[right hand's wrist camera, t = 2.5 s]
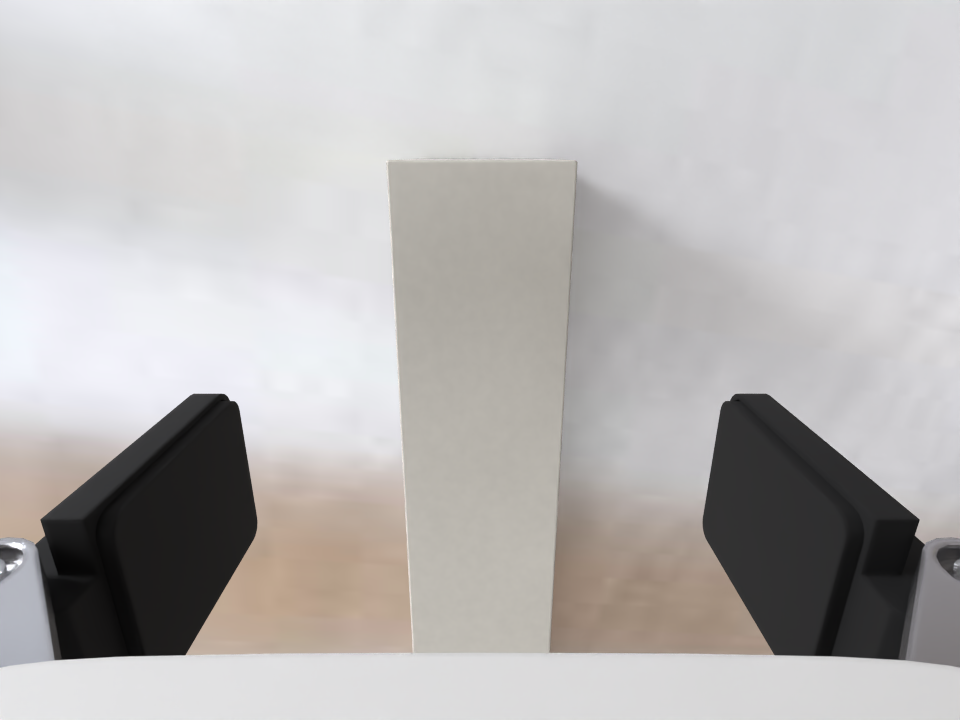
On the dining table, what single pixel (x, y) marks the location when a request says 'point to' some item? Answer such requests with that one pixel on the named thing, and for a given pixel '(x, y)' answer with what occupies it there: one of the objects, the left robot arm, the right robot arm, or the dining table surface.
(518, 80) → the dining table surface
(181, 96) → the dining table surface
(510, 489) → the block
